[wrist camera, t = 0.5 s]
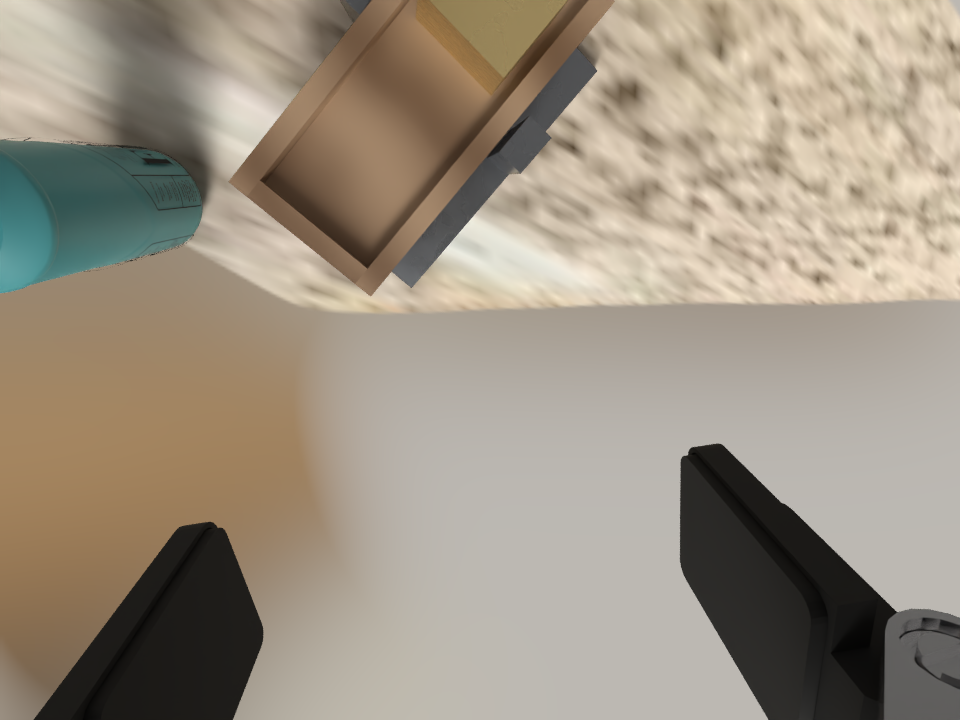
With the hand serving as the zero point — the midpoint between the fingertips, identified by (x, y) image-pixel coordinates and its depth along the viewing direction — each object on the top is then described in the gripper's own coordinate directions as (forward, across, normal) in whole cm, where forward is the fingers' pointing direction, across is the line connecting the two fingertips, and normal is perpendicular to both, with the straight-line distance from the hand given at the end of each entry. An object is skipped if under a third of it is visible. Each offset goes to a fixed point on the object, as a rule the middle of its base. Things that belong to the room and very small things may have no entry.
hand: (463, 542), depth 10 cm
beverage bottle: (+30, +18, -8) cm, 36 cm away
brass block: (+21, -4, -14) cm, 25 cm away
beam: (+22, 0, -11) cm, 25 cm away
